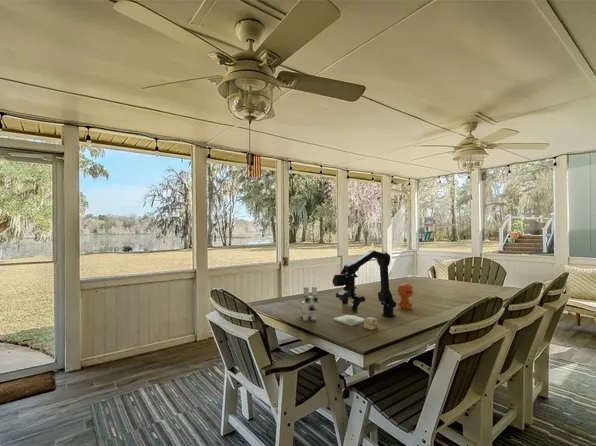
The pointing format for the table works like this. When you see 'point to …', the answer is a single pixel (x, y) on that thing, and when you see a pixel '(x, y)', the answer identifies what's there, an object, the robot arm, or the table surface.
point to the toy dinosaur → (405, 296)
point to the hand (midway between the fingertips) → (350, 311)
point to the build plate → (349, 319)
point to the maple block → (370, 323)
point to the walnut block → (348, 309)
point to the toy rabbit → (309, 304)
